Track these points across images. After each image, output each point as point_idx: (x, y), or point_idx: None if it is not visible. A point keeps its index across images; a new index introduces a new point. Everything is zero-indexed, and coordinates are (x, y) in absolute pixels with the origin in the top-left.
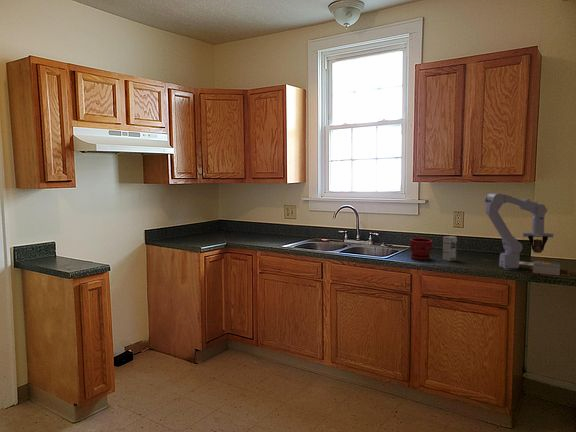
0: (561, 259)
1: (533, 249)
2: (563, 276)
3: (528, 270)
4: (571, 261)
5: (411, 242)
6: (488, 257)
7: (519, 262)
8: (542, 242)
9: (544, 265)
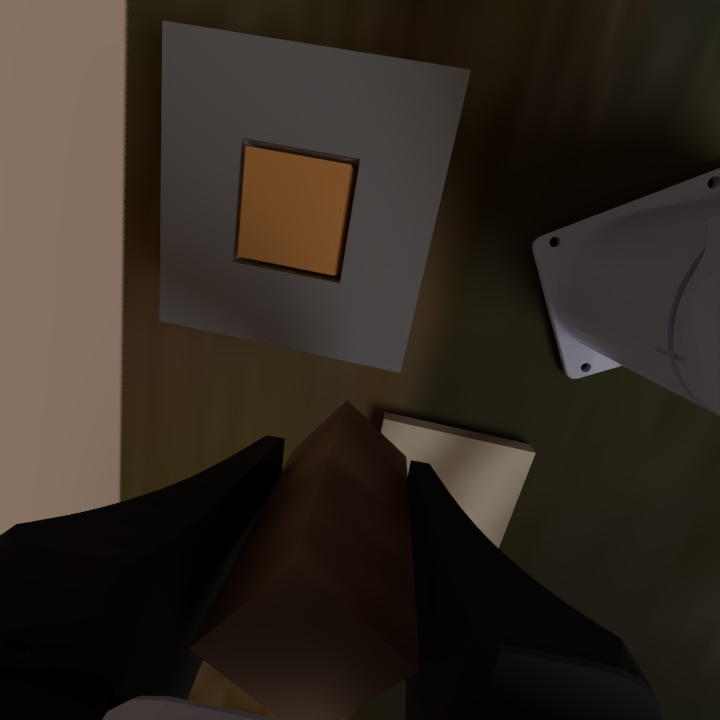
0: None
1: (406, 481)
2: None
3: (469, 245)
4: None
5: None
6: (671, 711)
7: (485, 520)
8: (217, 588)
9: (335, 59)
